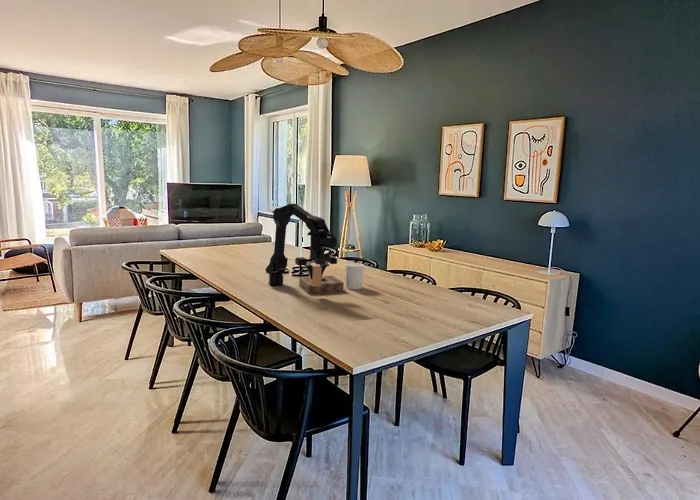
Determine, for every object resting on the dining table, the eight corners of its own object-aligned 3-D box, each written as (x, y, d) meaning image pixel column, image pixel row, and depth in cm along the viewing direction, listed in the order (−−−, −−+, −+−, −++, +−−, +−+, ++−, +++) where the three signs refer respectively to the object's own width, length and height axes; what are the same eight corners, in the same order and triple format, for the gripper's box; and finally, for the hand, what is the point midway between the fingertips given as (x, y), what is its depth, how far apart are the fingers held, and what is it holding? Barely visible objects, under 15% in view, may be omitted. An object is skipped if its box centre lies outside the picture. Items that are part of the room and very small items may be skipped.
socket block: (308, 294, 208) (308, 284, 208) (299, 285, 223) (299, 277, 222) (343, 291, 215) (343, 282, 214) (332, 283, 230) (332, 275, 229)
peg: (312, 286, 201) (313, 267, 200) (310, 284, 205) (310, 265, 203) (321, 286, 203) (321, 267, 201) (318, 284, 206) (319, 265, 205)
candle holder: (340, 288, 222) (341, 265, 220) (349, 284, 230) (350, 261, 228) (357, 291, 217) (358, 267, 215) (366, 287, 226) (367, 264, 224)
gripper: (301, 249, 190) (301, 284, 192) (341, 248, 197) (340, 281, 199) (295, 245, 200) (294, 278, 202) (333, 244, 207) (332, 276, 209)
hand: (315, 278), depth 203 cm, fingers closed on peg, 4 cm apart
